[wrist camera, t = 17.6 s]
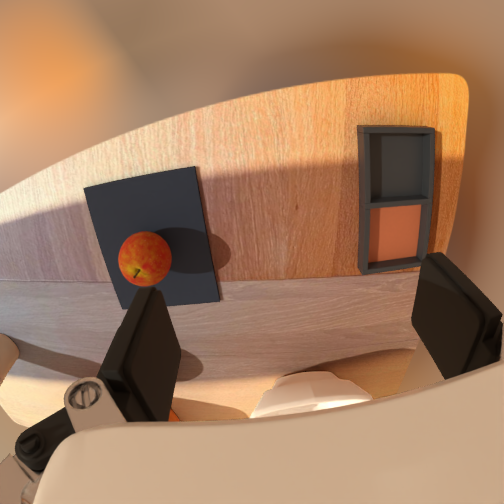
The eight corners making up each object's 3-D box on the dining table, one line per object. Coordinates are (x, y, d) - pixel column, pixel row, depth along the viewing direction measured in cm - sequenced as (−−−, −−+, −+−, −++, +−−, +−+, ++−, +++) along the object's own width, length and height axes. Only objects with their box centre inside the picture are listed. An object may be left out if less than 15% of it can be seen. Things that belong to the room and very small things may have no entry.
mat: (84, 187, 38) (83, 188, 38) (195, 166, 38) (194, 166, 38) (123, 308, 47) (122, 309, 47) (220, 300, 47) (220, 301, 46)
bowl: (251, 422, 62) (252, 467, 51) (239, 354, 52) (238, 409, 42) (350, 410, 61) (362, 452, 51) (365, 339, 52) (386, 388, 41)
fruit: (149, 213, 40) (131, 237, 33) (186, 248, 43) (175, 279, 35) (119, 245, 42) (97, 273, 35) (154, 277, 44) (139, 310, 37)
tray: (356, 125, 36) (363, 126, 34) (426, 126, 36) (434, 128, 34) (357, 267, 45) (362, 275, 43) (418, 258, 45) (425, 265, 43)
